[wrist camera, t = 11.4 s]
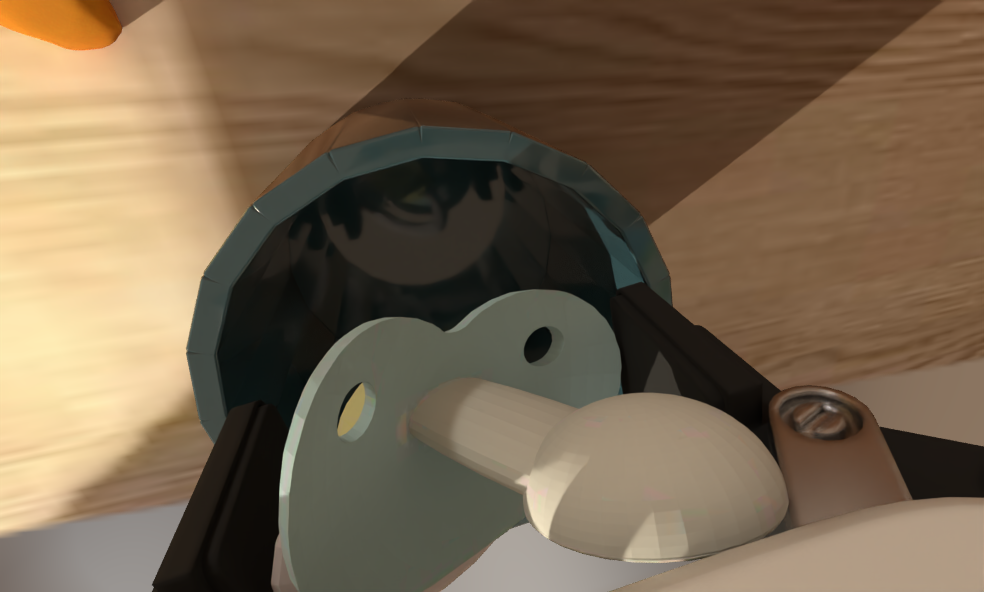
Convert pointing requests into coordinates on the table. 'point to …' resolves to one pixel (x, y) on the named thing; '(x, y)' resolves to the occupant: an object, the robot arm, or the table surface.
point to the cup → (403, 246)
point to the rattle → (63, 21)
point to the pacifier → (503, 454)
